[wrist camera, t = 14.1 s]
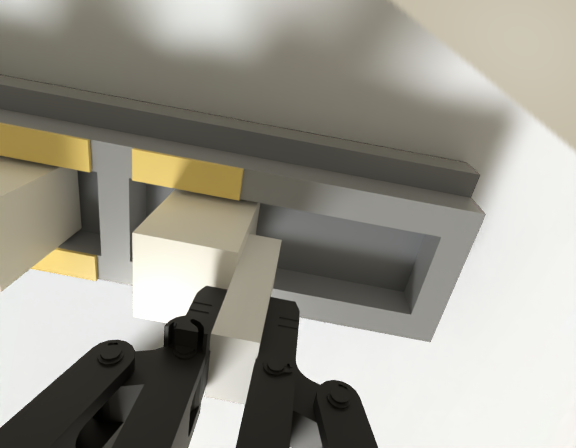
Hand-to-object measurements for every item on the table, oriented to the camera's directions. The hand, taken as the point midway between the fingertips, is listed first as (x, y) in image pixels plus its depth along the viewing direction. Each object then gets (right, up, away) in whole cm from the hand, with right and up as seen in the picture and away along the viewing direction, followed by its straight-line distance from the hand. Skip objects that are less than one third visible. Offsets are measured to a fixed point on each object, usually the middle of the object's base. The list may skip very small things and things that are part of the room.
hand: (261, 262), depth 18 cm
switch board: (-7, +4, +5) cm, 9 cm away
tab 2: (-2, +2, +3) cm, 4 cm away
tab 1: (-12, +4, +3) cm, 13 cm away
